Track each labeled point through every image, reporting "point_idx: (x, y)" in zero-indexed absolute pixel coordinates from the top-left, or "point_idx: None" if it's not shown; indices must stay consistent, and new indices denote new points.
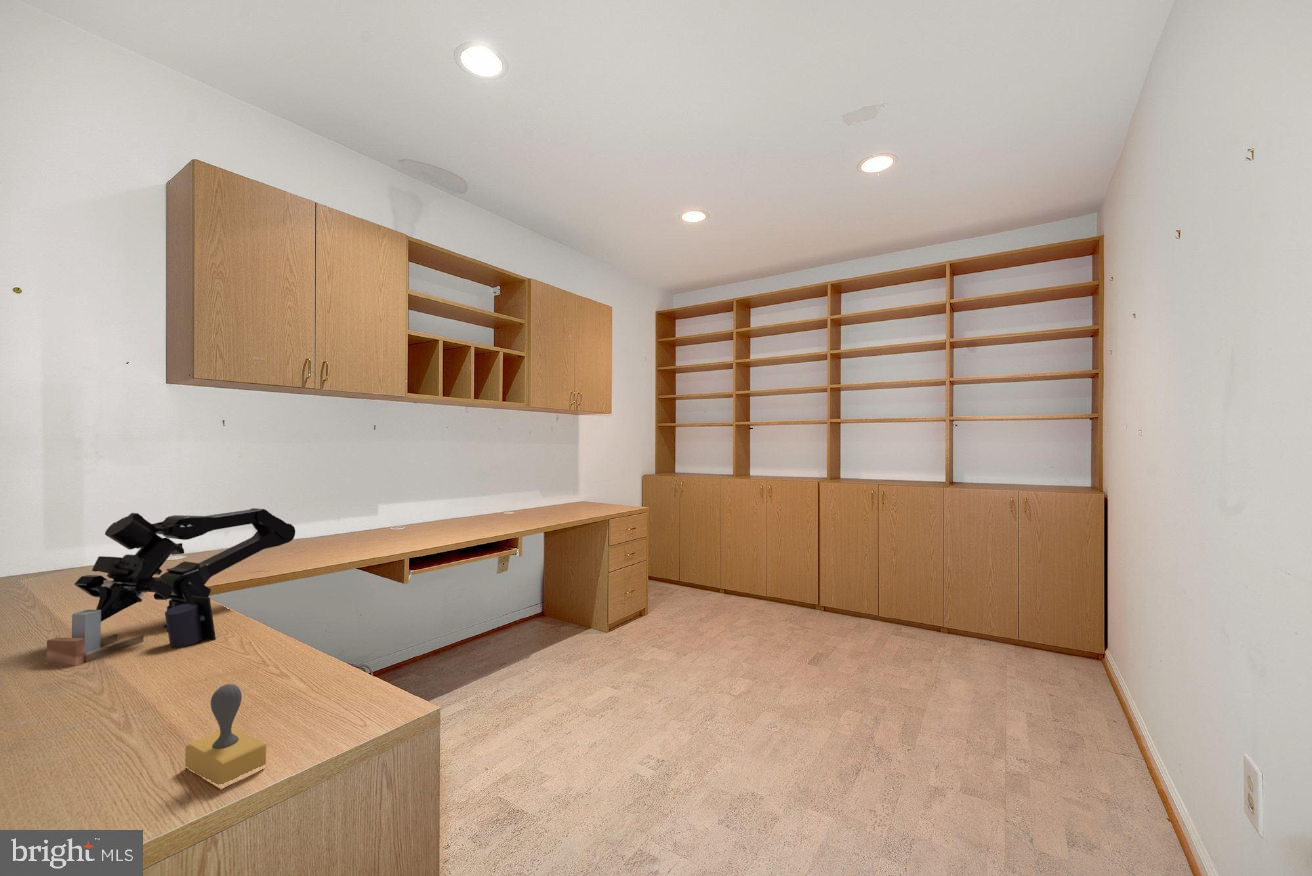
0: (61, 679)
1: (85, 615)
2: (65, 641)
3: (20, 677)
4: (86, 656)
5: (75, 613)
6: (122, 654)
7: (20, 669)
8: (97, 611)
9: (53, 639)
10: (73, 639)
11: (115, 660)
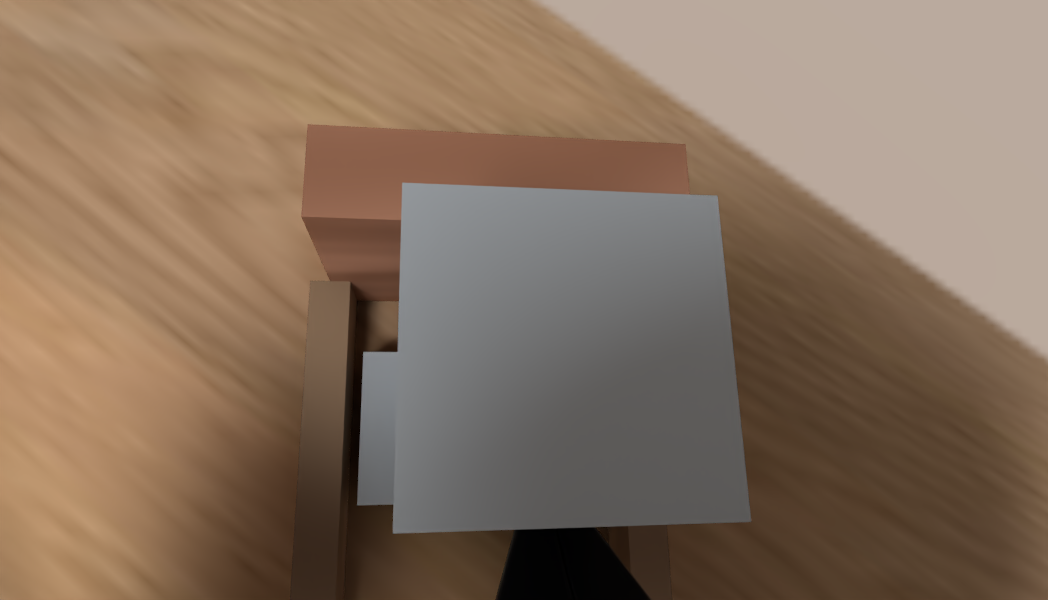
0: (172, 3)
1: (404, 196)
2: (455, 139)
3: (523, 34)
4: (312, 285)
5: (690, 232)
6: (158, 514)
7: (693, 155)
8: (399, 446)
9: (647, 172)
10: (410, 179)
11: (83, 366)
